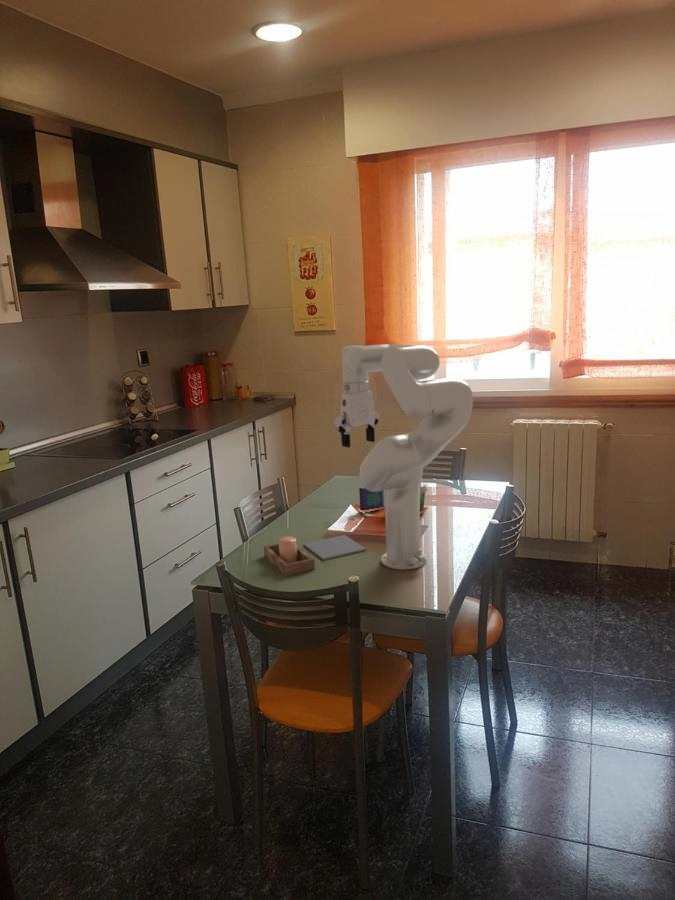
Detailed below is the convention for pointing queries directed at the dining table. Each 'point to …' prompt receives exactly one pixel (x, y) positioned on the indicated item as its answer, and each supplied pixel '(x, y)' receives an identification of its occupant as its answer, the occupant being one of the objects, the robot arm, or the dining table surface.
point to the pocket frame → (291, 568)
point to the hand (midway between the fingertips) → (358, 444)
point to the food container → (422, 497)
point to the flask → (370, 499)
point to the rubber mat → (334, 547)
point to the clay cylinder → (288, 549)
